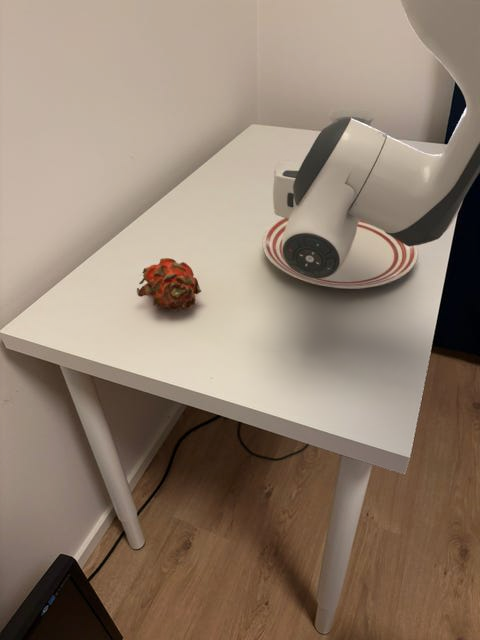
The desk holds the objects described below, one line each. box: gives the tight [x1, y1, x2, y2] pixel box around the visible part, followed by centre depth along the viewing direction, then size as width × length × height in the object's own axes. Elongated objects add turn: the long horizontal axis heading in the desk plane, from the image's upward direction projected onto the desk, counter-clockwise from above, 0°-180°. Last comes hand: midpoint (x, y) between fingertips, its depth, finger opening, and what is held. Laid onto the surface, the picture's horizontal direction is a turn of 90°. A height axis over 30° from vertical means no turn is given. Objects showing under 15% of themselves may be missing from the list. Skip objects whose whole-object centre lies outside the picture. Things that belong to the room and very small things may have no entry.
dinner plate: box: [261, 216, 419, 290], centre depth 88 cm, size 27×27×3 cm
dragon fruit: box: [136, 257, 202, 311], centre depth 78 cm, size 8×8×12 cm
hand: (346, 164), depth 79 cm, fingers closed on chalice, 5 cm apart
